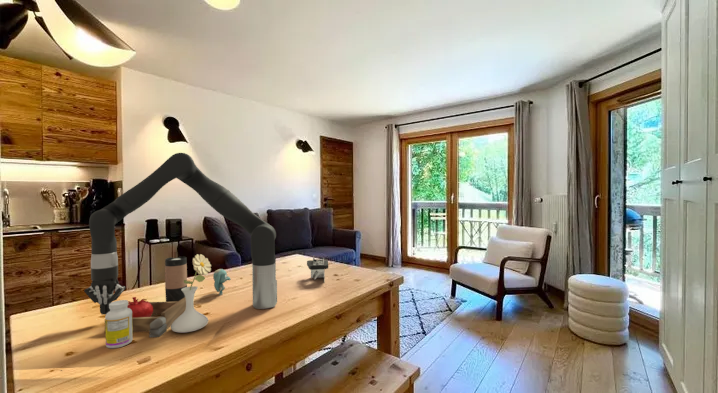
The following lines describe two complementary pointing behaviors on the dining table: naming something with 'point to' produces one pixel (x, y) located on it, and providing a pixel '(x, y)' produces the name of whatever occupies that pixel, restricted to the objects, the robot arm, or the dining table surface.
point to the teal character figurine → (220, 280)
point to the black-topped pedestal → (317, 268)
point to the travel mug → (175, 278)
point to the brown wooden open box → (162, 323)
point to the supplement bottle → (118, 324)
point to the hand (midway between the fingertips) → (105, 313)
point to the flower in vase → (191, 317)
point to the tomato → (140, 308)
